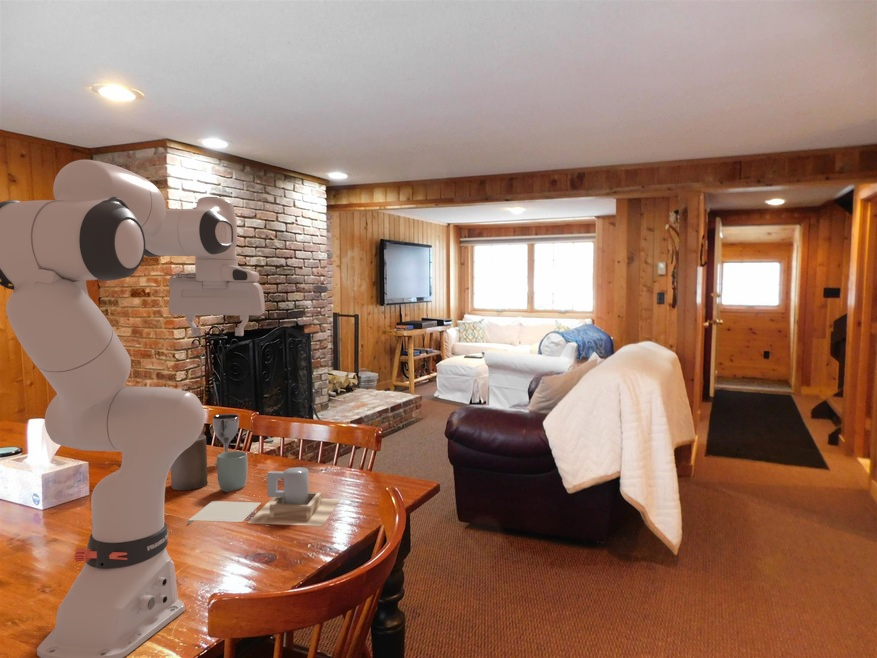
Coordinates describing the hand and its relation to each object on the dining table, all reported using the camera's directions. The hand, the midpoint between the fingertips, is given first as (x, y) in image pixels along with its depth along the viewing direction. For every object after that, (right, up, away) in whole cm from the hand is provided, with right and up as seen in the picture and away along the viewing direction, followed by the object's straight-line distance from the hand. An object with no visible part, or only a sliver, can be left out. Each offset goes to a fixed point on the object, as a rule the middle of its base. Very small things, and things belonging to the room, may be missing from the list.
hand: (217, 335), depth 132 cm
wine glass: (-19, -42, +60) cm, 76 cm away
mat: (-3, -45, +15) cm, 47 cm away
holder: (+14, -45, +16) cm, 49 cm away
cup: (-8, -44, +33) cm, 55 cm away
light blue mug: (+12, -44, +16) cm, 48 cm away
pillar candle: (-22, -43, +37) cm, 61 cm away
